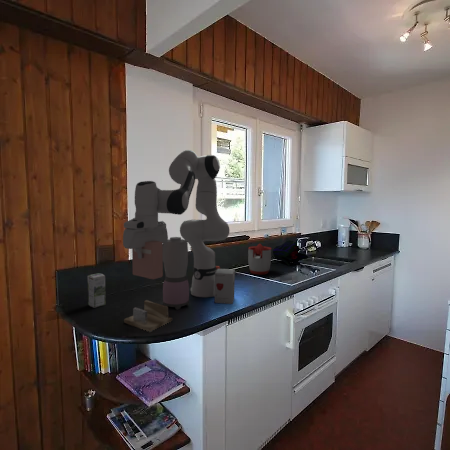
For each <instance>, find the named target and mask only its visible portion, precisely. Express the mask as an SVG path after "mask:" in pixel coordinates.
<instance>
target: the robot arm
mask: <svg viewBox="0 0 450 450" xmlns="http://www.w3.org/2000/svg"><path fill="white" fill-rule="evenodd" d="M220 169H221V165H220V160H219V158H218V157H217V156H216V155H213V154H207V155H201V156H198V155H197V153H196V152H195V151H193V150H190V149H186V150H183V151H182V152H180V153H179V154H178V155H177V156H176V157H175V158H174V159H173V161H172V162H171V163H170V165H169V167H168V173H169V177H170V178H171V180H172V181H173V182H175V183H176V184H178V185H179V186H180V187H179V188H177V189H170V190H169V189H160V188H159V187H158V186H157V182H156V181H153V180H145V181H139V182H137V183H136V185H135V190H134V205H135V206H134V207H135V213H134V217H133V218H132V219H129V220H126V221H125V222H124V223H123V228H124V229H123V230H124V231H123V233H122V234H123V235H122V245H123V247H124V248H125V249H126V250H127V249H128V250H130V249H131V250H132V249H134V248H135V250H136V252H137V254H138V258H139V259H141V258H144V254H142V252H141V250H142V247H145V242H151V241H160V242H162V244H163V243H167V241H168V240H169V235H168V229H167V223H166V222H164V221H163V220H160V221H159V214H170V215H171V214H172V215H179V216H180V215H183V214H184V213H185V212H186V211H187V210H188V207H189V204H190V197H191V194H192V193H193V189H194V186H195V183H196V180H197V186H196V194H195V210H196V211H197V212H198V213H200V214H202V215H203V216H205V219H188V220H184V221H182V223H181V224H180V226H179V234H180V237H181V239H184V240H187V243H188V244H189V246H190V248H191V250H192V253H193V268H192V273H193V275H192V277H191V278H192V280H191V287H189V291H190V294H191V295H192V296H194V297H197V298H211V297H214V298H215V272H216V271H217V269H221V267H220V265H216V252H215V251H214V249H212V248H211V247H209V246H207V245H205V243H204V242H205V241H206V242H210V241H211V242H219V241H223V240H224V241H225V240H226V239H227V238H228V237H229V235H230V231H231V230H230V226H229V224H228V223H227V222H226V221H225V220H224V219H223V218H222V217H221V216H220V214H219V211H218V206H217V202H218V201H217V199H218V197H217V196H218V187H217V181H216V178H217V177H218V174H219V172H220Z"/></svg>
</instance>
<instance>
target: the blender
mask: <svg viewBox="0 0 450 450" xmlns="http://www.w3.org/2000/svg"><path fill="white" fill-rule="evenodd" d="M188 244H189V243H188V242H187V240H185V239H183V238H182V236H172V237H170V238H168V241H167V243H163V244H162V249H163V269H164V272H165V273H164V274H165V278H164V280H163V284H162V305H164V306H168V308H169V307H170V308H175V310H181V307H184V306H186V307H188V306H189V305H190V284H189V280H188V278H187V272H188V271H187V270H188V265H189V247H188Z"/></svg>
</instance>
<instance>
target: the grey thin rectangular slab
mask: <svg viewBox="0 0 450 450" xmlns="http://www.w3.org/2000/svg"><path fill="white" fill-rule="evenodd" d="M132 316H133V320H134V321H137V322H139V323H142V324H145V325H146V324H148V318H147V311H145V310H144V309H142V308H139V307H133V308H132Z"/></svg>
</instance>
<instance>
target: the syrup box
mask: <svg viewBox="0 0 450 450" xmlns="http://www.w3.org/2000/svg"><path fill="white" fill-rule="evenodd" d="M106 299H107V298H106V275H105V274H103V273H94V274H89V275H87V300H88V301H87V304H88V306H89V307H91V308H95V309H96V308H99V307H102V306H105V305H106V301H107V300H106Z"/></svg>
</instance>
